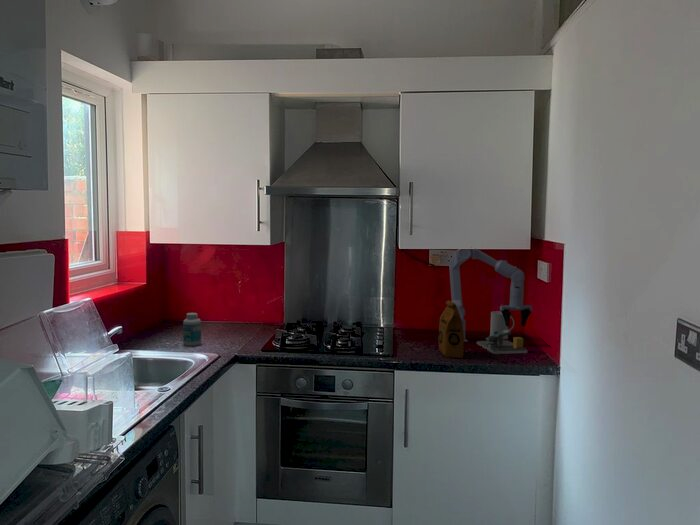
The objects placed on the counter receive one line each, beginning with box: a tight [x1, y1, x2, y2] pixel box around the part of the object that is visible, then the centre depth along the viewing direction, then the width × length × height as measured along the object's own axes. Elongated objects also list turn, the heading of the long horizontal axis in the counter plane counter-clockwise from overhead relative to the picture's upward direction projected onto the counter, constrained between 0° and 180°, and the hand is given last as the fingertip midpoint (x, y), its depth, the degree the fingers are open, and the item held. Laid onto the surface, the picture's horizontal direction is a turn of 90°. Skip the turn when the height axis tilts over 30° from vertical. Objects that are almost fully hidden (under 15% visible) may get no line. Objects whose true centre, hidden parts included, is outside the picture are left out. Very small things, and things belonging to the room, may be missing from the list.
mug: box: [489, 310, 515, 340], centre depth 254 cm, size 12×8×12 cm
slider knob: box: [512, 336, 524, 348], centre depth 228 cm, size 3×3×4 cm
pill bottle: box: [182, 312, 202, 347], centre depth 231 cm, size 8×7×14 cm
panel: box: [476, 331, 528, 355], centre depth 233 cm, size 15×18×6 cm
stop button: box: [488, 335, 497, 343], centre depth 232 cm, size 4×4×2 cm
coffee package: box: [437, 299, 465, 359], centre depth 221 cm, size 10×12×22 cm
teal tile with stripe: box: [485, 330, 512, 341], centre depth 239 cm, size 11×4×1 cm, turn 100°
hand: (515, 326), depth 240 cm, fingers open, 7 cm apart
